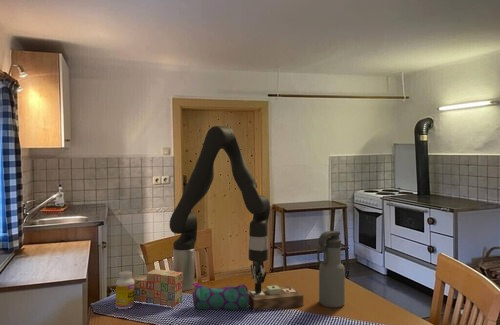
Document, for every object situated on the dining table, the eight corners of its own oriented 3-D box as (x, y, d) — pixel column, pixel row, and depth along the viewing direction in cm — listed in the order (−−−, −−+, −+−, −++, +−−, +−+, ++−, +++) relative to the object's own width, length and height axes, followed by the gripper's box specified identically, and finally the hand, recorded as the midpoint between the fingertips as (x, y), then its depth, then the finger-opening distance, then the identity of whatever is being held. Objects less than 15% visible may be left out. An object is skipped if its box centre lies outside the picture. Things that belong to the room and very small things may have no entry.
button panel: (253, 311, 139) (253, 300, 139) (244, 300, 151) (244, 290, 151) (303, 305, 145) (303, 295, 145) (290, 295, 156) (290, 285, 157)
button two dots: (285, 298, 147) (285, 291, 147) (281, 295, 151) (281, 288, 151) (296, 297, 148) (296, 290, 148) (291, 294, 152) (291, 287, 153)
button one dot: (270, 296, 145) (270, 288, 145) (266, 292, 149) (266, 285, 149) (280, 295, 146) (280, 287, 146) (276, 291, 151) (276, 284, 151)
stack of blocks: (125, 302, 147) (126, 270, 147) (135, 297, 153) (135, 266, 153) (174, 309, 141) (175, 275, 141) (182, 303, 147) (183, 271, 147)
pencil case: (247, 304, 146) (247, 279, 146) (249, 313, 137) (249, 286, 137) (193, 305, 145) (193, 279, 145) (191, 314, 136) (191, 287, 136)
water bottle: (329, 310, 141) (329, 234, 141) (313, 301, 149) (313, 230, 150) (349, 305, 145) (350, 232, 146) (333, 297, 154) (333, 229, 155)
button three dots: (254, 301, 143) (254, 294, 143) (250, 298, 147) (250, 290, 147) (264, 300, 144) (265, 293, 145) (261, 297, 149) (261, 289, 149)
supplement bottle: (128, 311, 138) (128, 275, 138) (111, 309, 139) (112, 274, 140) (137, 304, 145) (137, 270, 145) (121, 303, 146) (122, 269, 146)
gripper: (244, 244, 151) (243, 288, 151) (254, 251, 139) (253, 299, 138) (261, 243, 154) (261, 286, 153) (273, 250, 141) (273, 297, 141)
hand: (258, 292), depth 146 cm, fingers closed
